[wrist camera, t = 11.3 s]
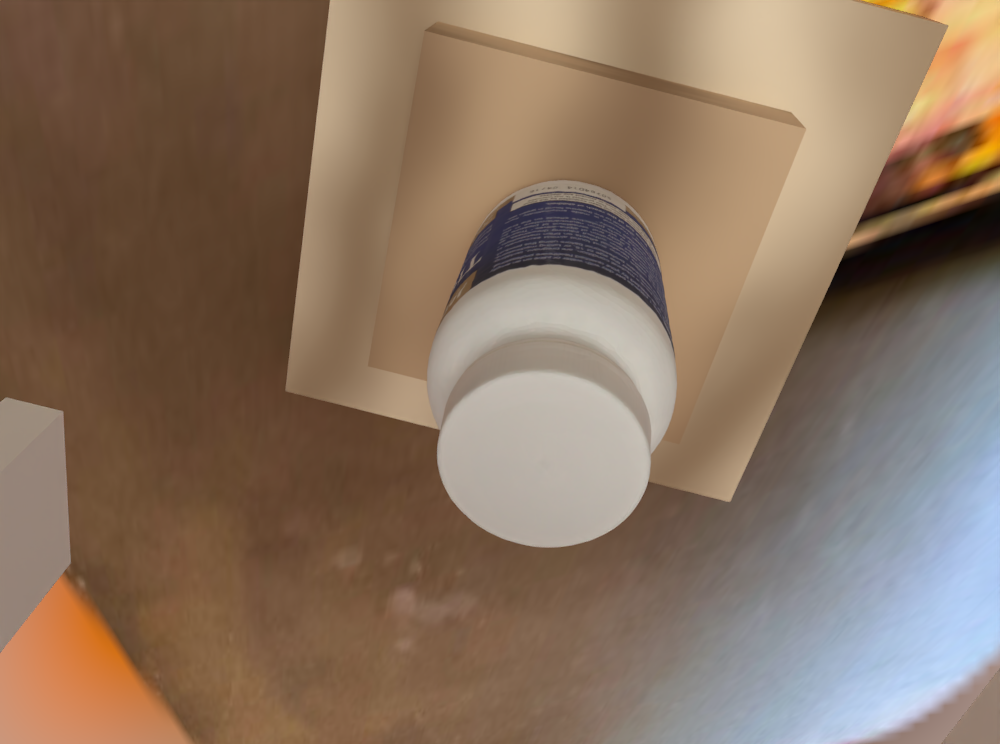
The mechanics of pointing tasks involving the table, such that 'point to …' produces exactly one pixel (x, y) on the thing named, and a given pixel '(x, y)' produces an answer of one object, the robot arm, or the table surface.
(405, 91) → the base
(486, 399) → the pill bottle
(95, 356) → the table surface
